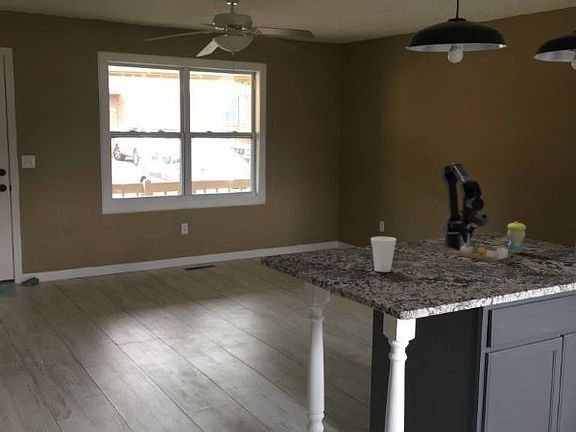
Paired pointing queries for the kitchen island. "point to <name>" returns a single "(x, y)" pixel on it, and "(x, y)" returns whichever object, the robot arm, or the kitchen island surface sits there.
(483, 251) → the ball
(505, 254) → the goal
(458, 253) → the pitch
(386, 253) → the cup
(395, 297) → the kitchen island surface
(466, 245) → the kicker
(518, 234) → the toy
